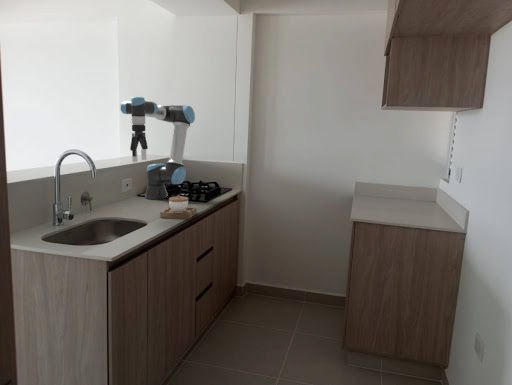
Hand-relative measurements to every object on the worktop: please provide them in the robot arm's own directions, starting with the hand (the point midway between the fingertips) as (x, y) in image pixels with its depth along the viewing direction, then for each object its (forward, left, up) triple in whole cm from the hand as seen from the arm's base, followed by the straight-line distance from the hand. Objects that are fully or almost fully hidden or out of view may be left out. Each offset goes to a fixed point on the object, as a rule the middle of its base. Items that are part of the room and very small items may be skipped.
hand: (139, 161), depth 248 cm
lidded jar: (+12, +27, -27) cm, 40 cm away
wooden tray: (+12, +27, -29) cm, 41 cm away
